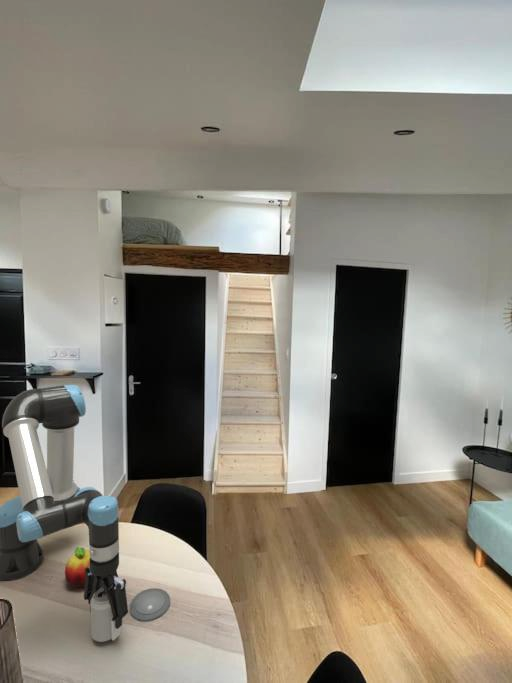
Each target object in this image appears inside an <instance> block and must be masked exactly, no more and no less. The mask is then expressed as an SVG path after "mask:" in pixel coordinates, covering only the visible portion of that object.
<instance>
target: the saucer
mask: <svg viewBox="0 0 512 683" xmlns="http://www.w3.org/2000/svg"><path fill="white" fill-rule="evenodd" d="M170 605H171V597H170V595H169V593H168V591H166V590H165V589H162V588H155V587H152V588H148V589H144V590H142V591H140V592H139V593H137V594H136V595H135V596H134V597H133V598H132V600H131V601H130V603H129V613H130V616H131V617H132V618H133V619H134V620H137V621H139V622H151V621H152V622H153V621H155V620H157V619H159V618H161V617H162V616H164V614H166V612H167V611H168V610H169V608H170V607H171V606H170Z"/></svg>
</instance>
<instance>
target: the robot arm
mask: <svg viewBox="0 0 512 683" xmlns="http://www.w3.org/2000/svg"><path fill="white" fill-rule="evenodd" d="M86 413H87V408H86V401H85V397H84V394H83V392H82V390H81V389H80V386H78V385H76V384H67V385H66V384H63V385H57V386H56V385H55V386H48V387H39V388H31V389H27V390H24V391H21V392H20V393H19V394H17V395H16V396H15V397H14V398H12V400H11V401H9V404H8V405H7V406H6V408H5V410H4V413H3V416H2V419H1V420H2V421H1V427H2V433H3V435H4V436H5V437H6V438H8V441H9V447H10V452H11V457H12V462H13V466H14V471H15V472H14V473H15V476H16V482H17V487H18V491H19V492H18V493H19V496H16V497H14V498H11V499H9V500H7V501H6V502H4V503H3V504H2V505H0V581H3V580H8V581H13V579H14V580H18V579H21V578H24V577H26V576H28V575H29V574H31V572H32V573H33V572H35V571H36V570H37V569H38V568H40V566H41V565H42V563H43V561H44V551H43V549H42V546H41V545H40V543H39V539H42V538H43V537H47V536H49V535H52V534H54V533H57V532H59V531H63V530H66V529H69V528H72V527H74V526H77V525H80V524H83V523H84V524H85V525H86V526H87V528H88V542H89V546H88V547H89V550H90V566H88V567H87V568H85V576H86V577H85V586H84V590H83V599H84V600H85V601H87V603H88V605H89V613H90V614H91V606H90V601H91V599H92V597H93V594H94V593H95V592H96V591H98V590H99V589H100V588H101V587H103V588H104V592H105V594H107V596H108V599H109V603H110V606H111V610H112V613H113V617H112V618H111V634H112V639H111V640H112V641H113V642H114V641H115V640H116V639H117V638H118V637H119V636H121V634H122V625H123V619H124V618H125V616H127V615H128V614H129V607H128V598H127V591H126V586H127V585H126V584H127V581H126V579H125V578H122V580H121V579H120V578H119V576H118V572H117V570H118V568H119V565H120V535H119V534H120V532H119V529H120V528H119V523H120V522H119V515H120V508H119V502H118V499H117V498H116V497H115V496H111V495H109V494H108V495H103V494H102V493H101V492H100V491H99V490H98V489H96V488H94V487H92V486H87V487H86V486H85V487H82V488H80V487H79V486H78V485H77V484H76V482H74V460H75V458H74V455H75V454H74V451H75V428H76V427H77V426H78V425H79V423H80V417H81V418H82V417H84V416H86ZM40 424H41V426H42V427H43V428H44V429H45V430H46V431H47V432H46V463H45V459H44V453H43V450H42V446H41V442H40V438H39V434H38V431H37V430H38V428H39V426H40ZM23 576H24V577H23ZM20 577H21V578H20ZM17 578H18V579H17ZM11 579H12V580H11ZM110 587H111V588H110ZM109 588H110V589H109Z"/></svg>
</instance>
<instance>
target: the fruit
mask: <svg viewBox="0 0 512 683" xmlns="http://www.w3.org/2000/svg"><path fill="white" fill-rule="evenodd" d="M73 551H74V552H73V553H74V554H73V555H72V556H71V557H70V558H69V560H68V561H67V563H66V566H65V569H64V577H65V579H66V582H67V583H68V584H69V585H70V586H71V587H74V588H84V587H85V577H86V576H85V568H87V567H88V566H90V549H87V550H85V548H84V547H80V546H77V547H76V548H75V549H74V550H73Z"/></svg>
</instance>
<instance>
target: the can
mask: <svg viewBox="0 0 512 683" xmlns="http://www.w3.org/2000/svg"><path fill="white" fill-rule="evenodd" d="M110 588H111V587H110ZM110 588H109V589H110ZM90 606H91V613H90V629H91V630H90V632H91V634H90V635H91V638H92V639H93V640H94V641H95V642H98V643H99V642H100V643H102V642H103V643H105V642H107V641H111V640H112V634H111V618H112V617H113V613H112V610H111V606H110V603H109V599H108V596H107V594H105V592H104V588H103V587H101V588H100V589H99V590H98V591H96V592H95V593H94V594H93V597H92V599H91V601H90V604H89V607H90Z"/></svg>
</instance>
